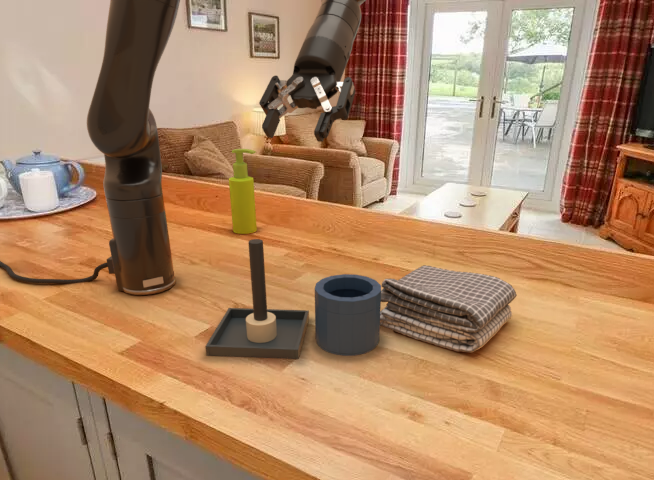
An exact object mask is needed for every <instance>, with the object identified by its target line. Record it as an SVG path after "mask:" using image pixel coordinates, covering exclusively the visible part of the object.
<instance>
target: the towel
mask: <svg viewBox="0 0 654 480" xmlns="http://www.w3.org/2000/svg"><path fill="white" fill-rule="evenodd" d="M516 298H517V292H516V290H515V288H514V286H512V284H510V283H509V282H507V281H506V280H503V279H501V278H500V277H497V276H494V275H488V274H484V273H477V272H471V271H470V272H467V271H456V270H450V269H446V268H441V267H436V266H432V265H421V266H420V267H418V268H415V269H414V270H412V271H410V272H408V274H407V273H406V274H405V275H404V276H402V277H401V278H400V279H395V278H384V280H383V281H382V282H381V303H386V306H385V307H384V308H383V309H382V310H381V309H380V327H384V328H387V329H389V330H392V331H393V332H396V333H398V334H402V335H404V336H407V337H409V338H413V339H415V340H419V341H421V342H425V343H428V344H431V345H435V347H441V348H444V349H448V350H452V351H454V352H462V353H474V352H476V351H477V350H480V348H483V347H484V346H485V345H486V344H487V343H488V342H489V341H490V340H491V339H492V338H493V337H494V336H495V335H496V334H497V333H498V332H499V331H500V330H501V329H502V327H503V326H504V325H505V324H506V323H507V322H509V321H510V320H511V319H512V317H513V312H512V307H511V305H510V304H511V303H512V302H513V301H514V300H515V299H516Z"/></svg>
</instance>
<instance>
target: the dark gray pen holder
mask: <svg viewBox="0 0 654 480" xmlns="http://www.w3.org/2000/svg"><path fill="white" fill-rule="evenodd" d="M381 291H382V284H380V282H378V281H377V280H376V279H374V278H371V277H369V276H366V275H361V274H353V273H352V274H349V273H348V274H347V273H344V274H343V273H342V274H333V275H330V276H326V277H323V278H321V279H320V280H318V281H317V282H316V283H315V286H314V327H315V329H314V331H315V343H316V344H317V346H318V347H319V348H320V349H321V350H323V351H325V352H326V353H328V354H331V355H334V356H335V355H336V356H341V357H342V356H343V357H353V356H354V357H355V356H360V355H364V354H367V353H370V352H371V351H373V350H374V349H376V347H378V345H379V343H380V329H381V326H380V311H381V307H382V305H381V304H382V302H381Z"/></svg>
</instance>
